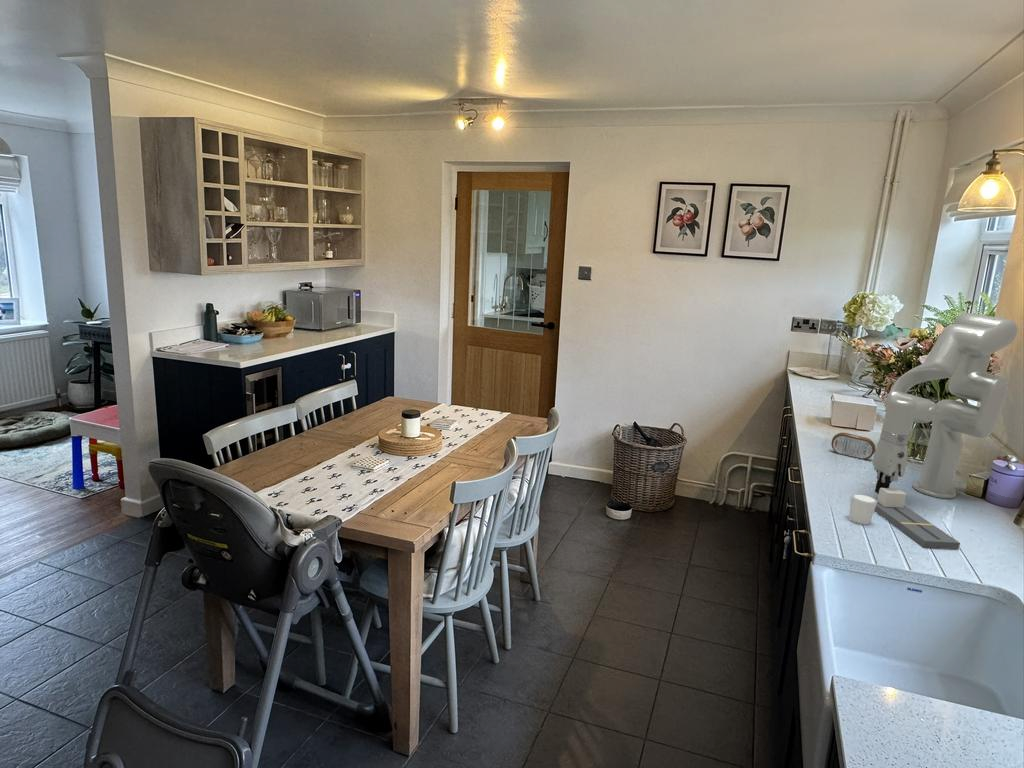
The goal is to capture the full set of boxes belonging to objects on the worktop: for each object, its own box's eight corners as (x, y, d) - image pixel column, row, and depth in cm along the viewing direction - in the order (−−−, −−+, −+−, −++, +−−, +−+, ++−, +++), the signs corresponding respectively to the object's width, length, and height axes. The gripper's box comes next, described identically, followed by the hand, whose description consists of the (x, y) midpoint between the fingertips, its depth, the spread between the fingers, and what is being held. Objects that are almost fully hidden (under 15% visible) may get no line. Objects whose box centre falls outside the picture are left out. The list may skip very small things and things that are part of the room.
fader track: (865, 504, 212) (866, 498, 212) (895, 506, 213) (897, 500, 212) (923, 547, 185) (925, 540, 185) (958, 549, 186) (960, 542, 185)
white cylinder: (870, 518, 202) (875, 496, 200) (874, 527, 196) (879, 504, 194) (845, 513, 204) (850, 491, 202) (848, 522, 198) (853, 499, 196)
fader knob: (876, 501, 210) (880, 487, 209) (895, 502, 210) (898, 488, 209) (884, 506, 206) (887, 492, 205) (903, 507, 206) (906, 494, 205)
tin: (872, 460, 257) (877, 439, 255) (872, 462, 254) (876, 441, 252) (830, 450, 264) (834, 429, 262) (828, 452, 262) (833, 431, 260)
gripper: (921, 446, 201) (907, 504, 206) (891, 430, 216) (878, 484, 220) (897, 444, 201) (883, 502, 205) (868, 429, 215) (856, 483, 220)
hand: (881, 493), depth 213 cm, fingers closed
